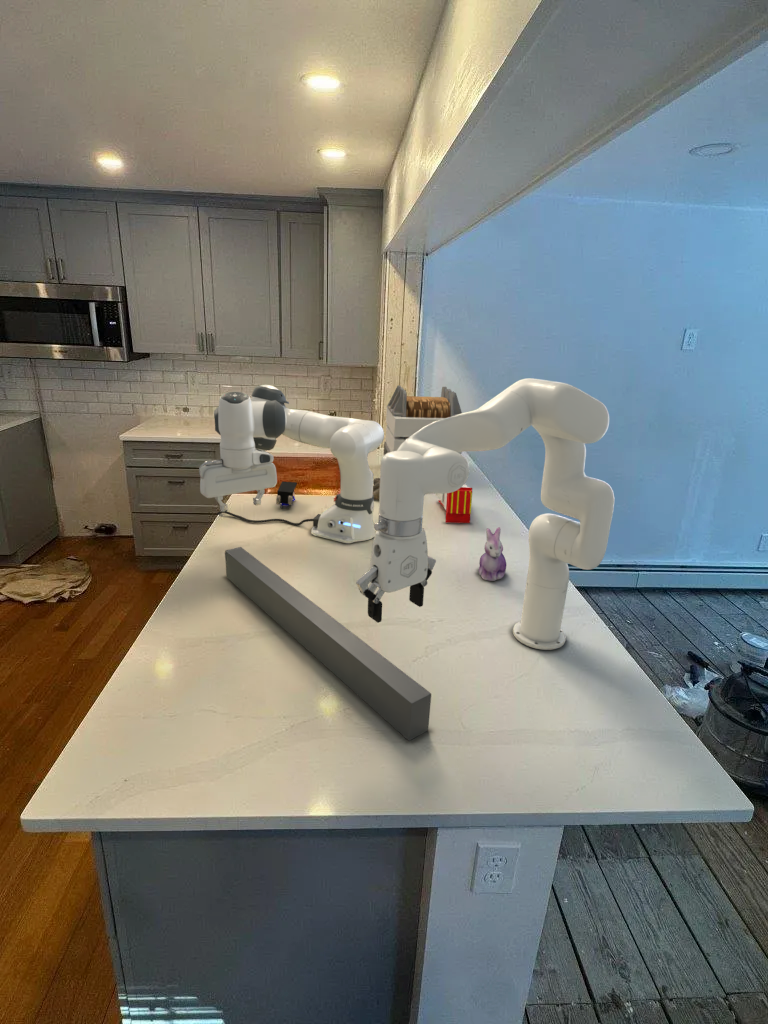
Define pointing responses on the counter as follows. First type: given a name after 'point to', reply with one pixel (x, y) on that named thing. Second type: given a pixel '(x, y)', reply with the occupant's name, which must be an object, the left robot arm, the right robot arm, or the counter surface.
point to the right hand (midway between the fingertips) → (395, 611)
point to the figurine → (492, 557)
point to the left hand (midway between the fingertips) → (240, 507)
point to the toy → (457, 505)
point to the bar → (334, 645)
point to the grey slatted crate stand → (415, 414)
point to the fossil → (376, 488)
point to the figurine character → (286, 494)
